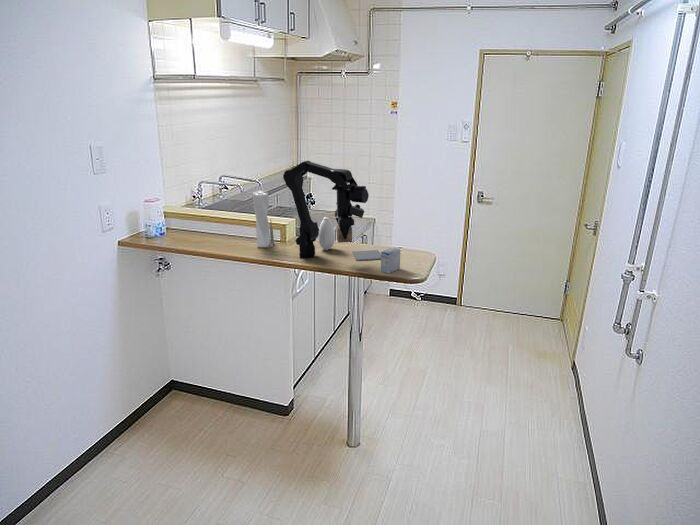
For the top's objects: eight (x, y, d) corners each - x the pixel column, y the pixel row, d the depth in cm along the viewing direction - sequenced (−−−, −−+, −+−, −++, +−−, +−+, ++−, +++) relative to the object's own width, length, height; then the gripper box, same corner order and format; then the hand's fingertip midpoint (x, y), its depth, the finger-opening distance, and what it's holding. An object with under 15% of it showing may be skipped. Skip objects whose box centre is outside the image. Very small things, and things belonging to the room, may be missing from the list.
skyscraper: (271, 248, 238) (267, 190, 229) (254, 248, 238) (250, 190, 229) (274, 243, 246) (270, 186, 237) (258, 243, 246) (253, 186, 237)
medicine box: (391, 266, 212) (391, 246, 209) (400, 268, 209) (400, 248, 207) (380, 271, 206) (380, 251, 204) (389, 273, 204) (389, 253, 201)
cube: (338, 242, 211) (337, 228, 209) (336, 238, 217) (336, 225, 215) (352, 241, 212) (352, 228, 210) (350, 238, 218) (350, 224, 216)
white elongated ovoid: (333, 252, 231) (332, 214, 225) (316, 251, 233) (315, 213, 227) (336, 247, 238) (336, 210, 233) (320, 246, 240) (319, 209, 234)
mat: (356, 260, 219) (356, 259, 219) (352, 252, 231) (352, 251, 230) (383, 259, 221) (383, 258, 221) (377, 251, 232) (377, 249, 232)
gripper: (366, 204, 201) (366, 242, 206) (359, 195, 219) (359, 230, 224) (338, 205, 200) (339, 243, 205) (334, 196, 217) (334, 231, 222)
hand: (344, 236), depth 214 cm, fingers closed on cube, 6 cm apart
